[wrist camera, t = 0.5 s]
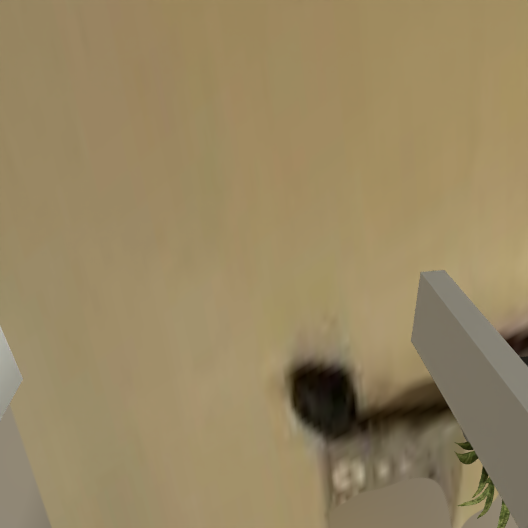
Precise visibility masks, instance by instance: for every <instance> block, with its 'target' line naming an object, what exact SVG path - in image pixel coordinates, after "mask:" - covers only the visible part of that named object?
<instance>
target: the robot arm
mask: <svg viewBox="0 0 528 528" xmlns="http://www.w3.org/2000/svg"><path fill="white" fill-rule="evenodd" d="M411 342H412V343H413V345H414V347H415V348H416V350H417V352H418V354H419V355H420V357H421V359H422V361H423V362H424V364H425V366H426V368H427V369H428V371H429V373H430V375H431V376H432V378H433V380H434V381H435V383H436V385H437V387H438V388H439V390H440V392H441V394H442V395H443V397H444V399H445V401H446V402H447V404H448V406H449V407H450V409H451V411H452V413H453V414H454V416H455V418H456V420H457V421H458V423H459V425H460V427H461V428H462V430H463V432H464V433H465V435H466V437H467V439H468V440H469V442H470V444H471V446H472V447H473V449H474V451H475V453H476V454H477V456H478V458H479V460H480V461H481V463H482V465H483V466H484V468H485V470H486V472H487V473H488V475H489V477H490V479H491V480H492V482H493V484H494V486H495V487H496V489H497V491H498V492H499V494H500V496H501V498H502V499H503V501H504V503H505V505H506V506H507V508H508V510H509V512H510V513H511V515H512V517H513V518H514V520H515V522H516V524H517V525H518V527H519V528H528V356H527V357H519V356H518V355H517V354H516V352H515V351H514V350H513V349H512V348H511V347H510V346H509V344H508V343H507V342H506V341H505V340H504V339H503V337H502V336H501V335H500V334H499V333H498V332H497V330H496V329H495V328H494V327H493V326H492V325H491V324H490V322H489V321H488V320H487V319H486V318H485V317H484V315H483V314H482V313H481V312H480V311H479V310H478V308H477V307H476V306H475V305H474V304H473V303H472V301H471V300H470V299H469V298H468V297H467V296H466V295H465V293H464V292H463V291H462V290H461V289H460V288H459V286H458V285H457V284H456V283H455V282H454V281H453V279H452V278H451V277H450V276H449V275H448V274H447V272H446V271H445V270H440V271H429V272H421V273H420V280H419V288H418V295H417V302H416V309H415V316H414V324H413V331H412V338H411ZM22 379H23V378H22V375H21V373H20V371H19V369H18V366H17V364H16V362H15V359H14V357H13V355H12V352H11V350H10V348H9V345H8V343H7V341H6V338H5V336H4V334H3V331H2V329H1V327H0V420H1V418H2V417H3V415H4V413H5V411H6V409H7V407H8V405H9V404H10V402H11V400H12V398H13V396H14V394H15V392H16V391H17V389H18V387H19V385H20V383H21V381H22Z"/></svg>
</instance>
